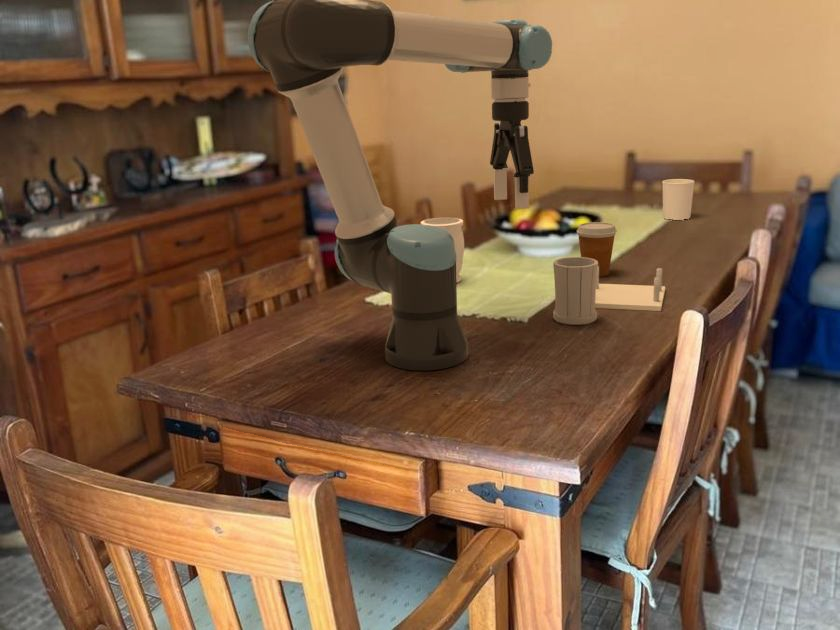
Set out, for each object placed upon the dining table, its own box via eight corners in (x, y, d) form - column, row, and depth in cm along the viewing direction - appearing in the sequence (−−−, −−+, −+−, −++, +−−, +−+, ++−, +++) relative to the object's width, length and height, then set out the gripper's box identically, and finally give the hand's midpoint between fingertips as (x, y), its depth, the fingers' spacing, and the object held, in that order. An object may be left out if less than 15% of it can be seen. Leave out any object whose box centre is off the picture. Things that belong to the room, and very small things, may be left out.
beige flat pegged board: (660, 311, 168) (662, 283, 166) (582, 307, 173) (583, 279, 171) (665, 290, 182) (666, 264, 180) (592, 287, 187) (593, 262, 185)
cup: (537, 318, 167) (537, 261, 164) (566, 308, 173) (567, 253, 169) (578, 328, 159) (578, 269, 156) (606, 318, 165) (608, 260, 161)
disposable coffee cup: (571, 276, 197) (571, 228, 194) (582, 267, 205) (583, 220, 202) (609, 279, 193) (610, 230, 190) (620, 270, 201) (621, 222, 198)
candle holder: (654, 218, 264) (655, 181, 260) (677, 214, 268) (679, 178, 264) (675, 222, 255) (677, 184, 252) (699, 218, 259) (701, 181, 256)
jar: (461, 287, 193) (459, 225, 188) (419, 286, 195) (416, 225, 191) (468, 276, 203) (466, 216, 198) (427, 275, 205) (425, 217, 200)
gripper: (550, 101, 155) (549, 211, 161) (507, 98, 178) (508, 194, 184) (513, 102, 153) (514, 214, 159) (474, 99, 176) (476, 197, 183)
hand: (510, 204), depth 172 cm, fingers open, 13 cm apart
